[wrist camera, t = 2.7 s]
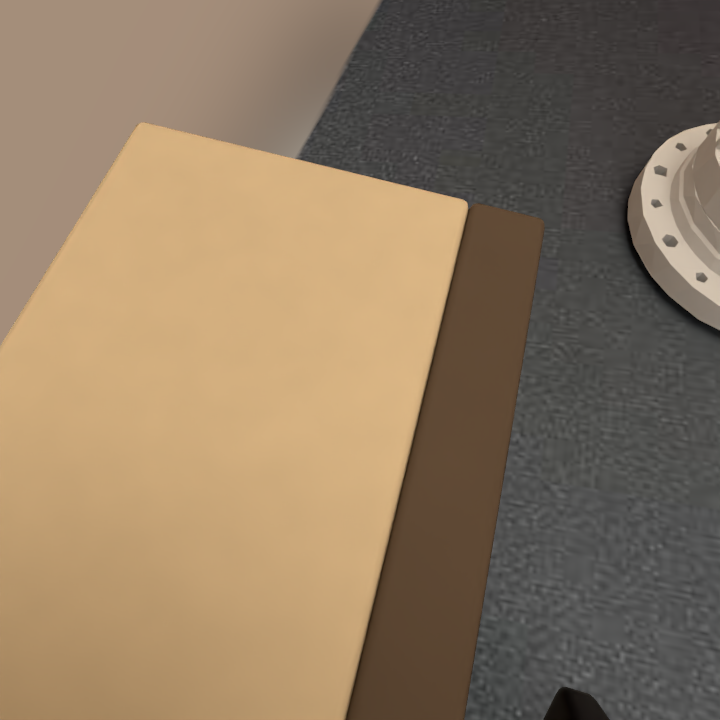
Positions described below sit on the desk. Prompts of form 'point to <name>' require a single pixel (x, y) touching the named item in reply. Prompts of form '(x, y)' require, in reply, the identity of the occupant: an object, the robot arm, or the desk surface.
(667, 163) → the mechanical component
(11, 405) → the back pad
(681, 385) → the desk surface
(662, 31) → the desk surface
